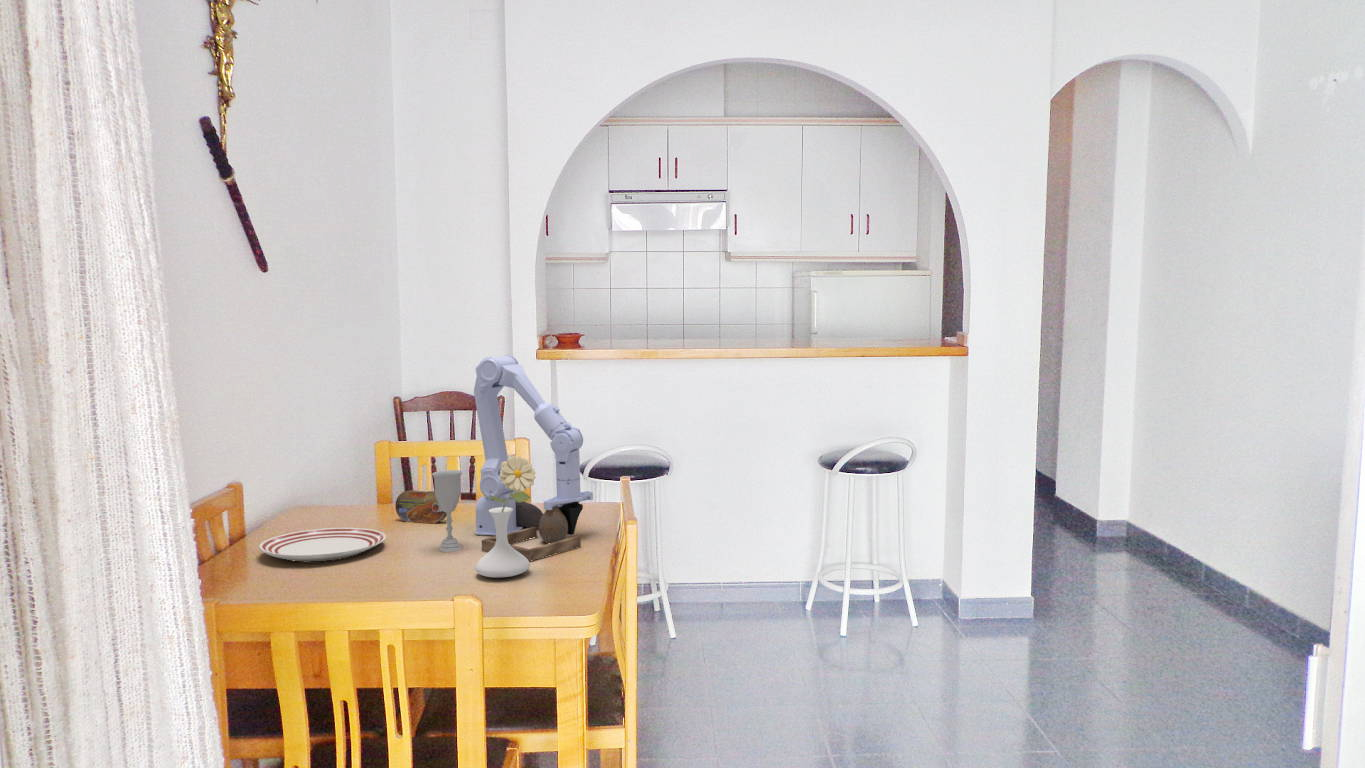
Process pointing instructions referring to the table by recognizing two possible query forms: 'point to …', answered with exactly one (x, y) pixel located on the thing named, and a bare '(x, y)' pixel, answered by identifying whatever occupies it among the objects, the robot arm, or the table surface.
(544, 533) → the vase
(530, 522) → the perforated stone tool
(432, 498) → the tin
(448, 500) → the chalice
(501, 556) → the flower in vase
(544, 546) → the tray
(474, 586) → the table surface
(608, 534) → the table surface
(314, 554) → the dinner plate
